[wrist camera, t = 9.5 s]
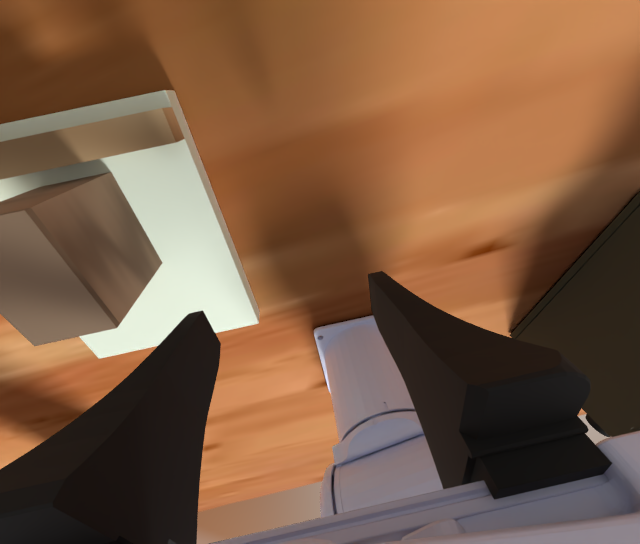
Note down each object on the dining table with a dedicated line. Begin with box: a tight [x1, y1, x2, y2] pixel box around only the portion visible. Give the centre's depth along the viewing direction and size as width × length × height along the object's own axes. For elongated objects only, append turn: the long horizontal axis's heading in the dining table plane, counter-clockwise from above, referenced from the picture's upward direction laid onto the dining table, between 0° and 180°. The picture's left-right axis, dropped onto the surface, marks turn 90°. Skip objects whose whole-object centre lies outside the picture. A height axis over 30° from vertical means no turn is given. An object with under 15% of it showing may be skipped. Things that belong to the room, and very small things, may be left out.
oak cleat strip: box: [0, 107, 185, 180], centre depth 14 cm, size 2×13×2 cm, turn 101°
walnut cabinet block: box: [0, 172, 162, 346], centre depth 14 cm, size 6×4×6 cm, turn 10°
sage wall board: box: [0, 90, 260, 359], centre depth 19 cm, size 16×13×2 cm
